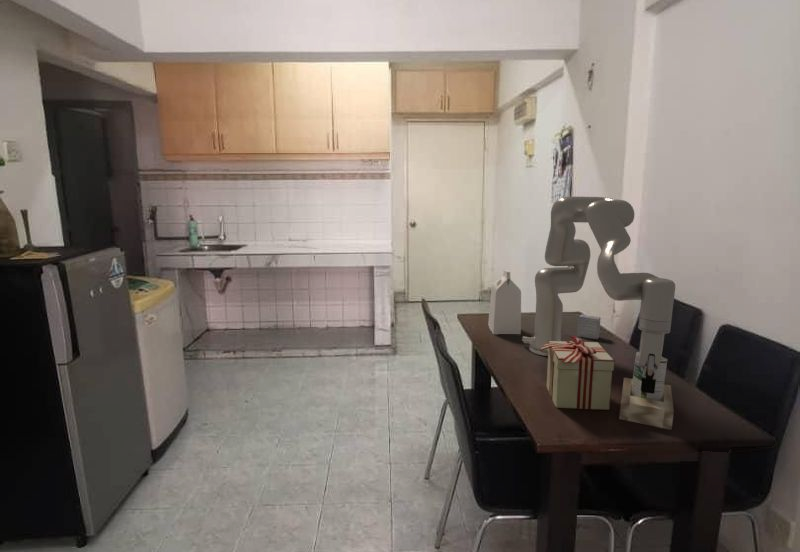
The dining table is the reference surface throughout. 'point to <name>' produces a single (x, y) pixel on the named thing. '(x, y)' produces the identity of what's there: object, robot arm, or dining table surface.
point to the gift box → (579, 374)
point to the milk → (505, 306)
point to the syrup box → (658, 376)
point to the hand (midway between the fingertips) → (647, 386)
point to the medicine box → (588, 326)
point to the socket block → (647, 407)
